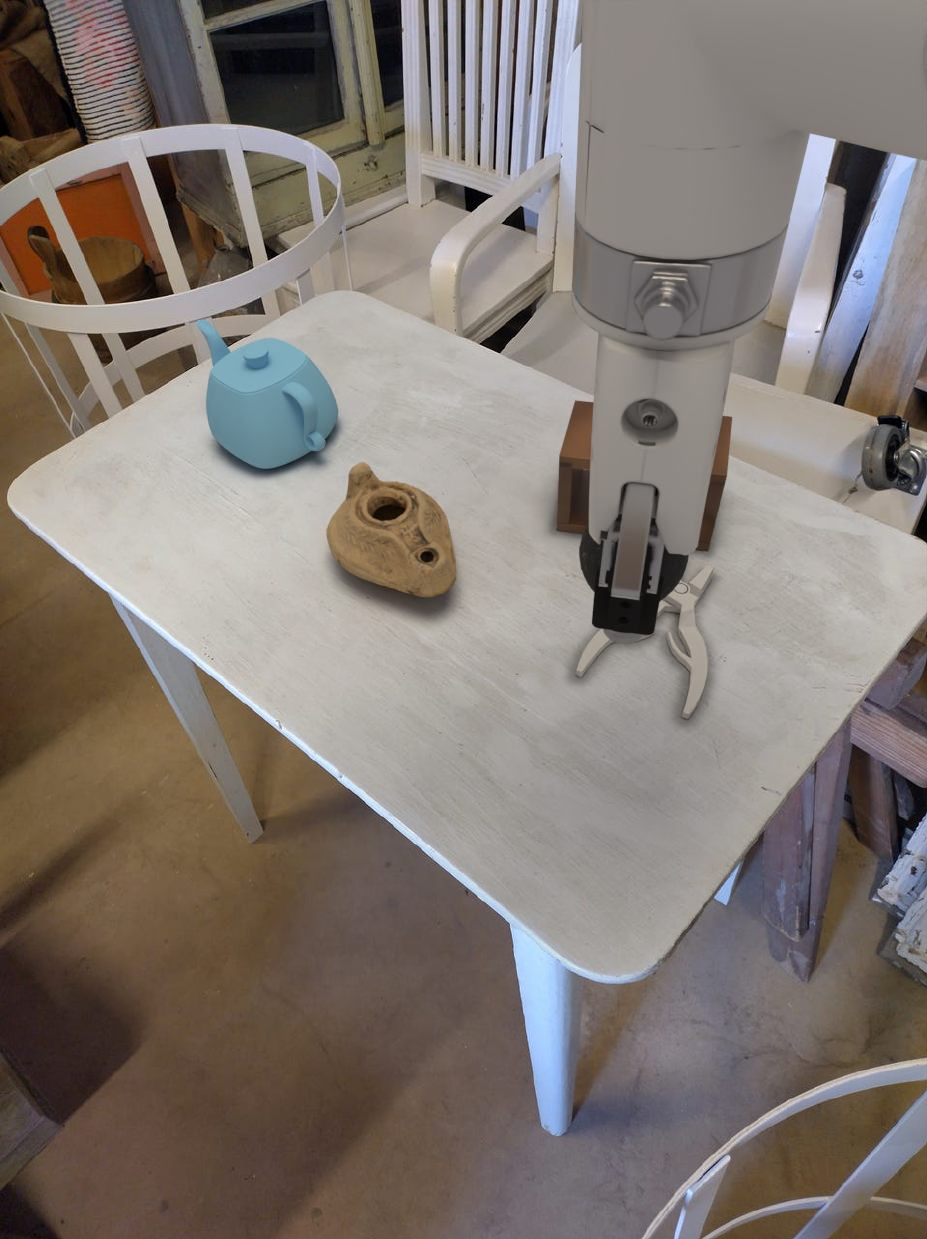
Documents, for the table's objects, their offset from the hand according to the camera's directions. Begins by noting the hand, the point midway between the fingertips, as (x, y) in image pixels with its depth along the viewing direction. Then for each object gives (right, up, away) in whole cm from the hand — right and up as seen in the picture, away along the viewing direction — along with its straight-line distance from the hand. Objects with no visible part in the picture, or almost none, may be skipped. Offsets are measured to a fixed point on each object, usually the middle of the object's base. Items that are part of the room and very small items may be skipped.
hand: (630, 580), depth 44 cm
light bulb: (0, -3, +4) cm, 5 cm away
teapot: (-30, +18, +45) cm, 57 cm away
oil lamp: (-15, +3, +31) cm, 35 cm away
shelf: (+7, +8, +34) cm, 35 cm away
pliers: (+8, -3, +25) cm, 26 cm away
